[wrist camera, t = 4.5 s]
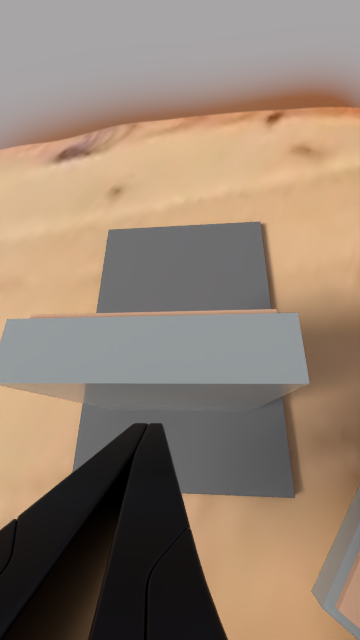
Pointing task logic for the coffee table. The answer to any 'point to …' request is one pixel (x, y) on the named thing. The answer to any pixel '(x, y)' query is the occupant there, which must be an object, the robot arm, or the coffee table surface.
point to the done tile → (343, 573)
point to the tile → (157, 358)
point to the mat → (195, 295)
